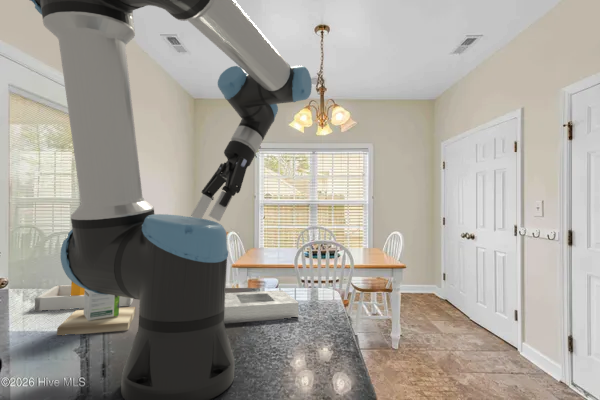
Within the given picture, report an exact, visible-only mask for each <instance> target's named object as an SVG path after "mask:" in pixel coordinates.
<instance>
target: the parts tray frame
mask: <svg viewBox="0 0 600 400" xmlns="http://www.w3.org/2000/svg"><path fill="white" fill-rule="evenodd" d="M70 295H71V284H67V285H66V284H64V285H62V284H61V285H54V286H53V287H52V288H50V289H48V290H45V291H44V292H43V293H41V294H40V295H38V296H36V297H35V299H34V310H33V311H34V312H42V310H48V311H61V310H60V309H65V310H71V309H70V308H79V309H78V310H84V295H73V296H70ZM133 301H134V299H132V298H127V297H122V296H120V297H119V307H131V305H132V303H133Z"/></svg>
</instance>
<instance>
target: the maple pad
mask: <svg viewBox="0 0 600 400" xmlns="http://www.w3.org/2000/svg"><path fill="white" fill-rule="evenodd" d="M135 315H136V306H121V307H119V315H118V316H117V317H109V318H103V319H96V320H92V321H88V320H87V319H86V317H85V316H84V309H75V311H73V312H72V314H70V315H69V317H67V318H66V319H65V320H64V321H62V322H61V324H60V325H59V326H57V328H56V329H57V330H56V333H57V334H56V336H57V335H62V336H66V335H65V334H75V335H86V334H96V333H97V334H99V333H111V332H124V331H128V330H129V328H130V326H131V324H132V322H133V320H134V318H135Z"/></svg>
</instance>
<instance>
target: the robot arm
mask: <svg viewBox="0 0 600 400" xmlns="http://www.w3.org/2000/svg"><path fill="white" fill-rule="evenodd" d="M29 1H31V2H32V3H33V5H34V8H35V10H36V11H37V12H38V13H39V14H40V15H41V16H42V23H43V26H44V27H45V28H46V29H47V30H48V31H49V32H50V33H51V34H53V35H54V36H55V37H56V38H57V39H58V46H59V52H60V59H61V67H62V75H63V82H64V89H65V90H64V91H65V95H66V103H67V111H68V117H69V119H68V120H69V125H70V132H71V141H72V147H73V148H72V149H73V155H74V161H75V169H76V176H77V185H78V190H79V196H80V197H79V200H80V205H79V206H78V207H77V208H76V209H75V210H74V211H73V213H72V214H71V215H70V222H71V228H72V229H71V230H70V231H69V232H68V233H67V237H66V239H63V242H62V245H61V248H60V263H61V266H62V267H61V268H62V269H63V271H64V274H65V275H66V276H67V278H68V279H69V280H70V281H71V283H72V282H73V283H75V284H76V285H78V286H80V287H82V288H84V289H87V290H90V291H93V292H94V293H98V294H105V295H107V294H111V295H116V296H122V297H127V298H132V299H133V300H139V308H138V309H139V310H138V328H137V331H136V335H135V337H134V340H133V343H132V344H131V348H130V350H129V353H128V356H127V357H126V361H125V363H124V367H123V369H122V373H121V381H120V382H121V383H120V384H121V385H120V393H121V394H120V395H121V396H122V398H123V399H124V400H212V399H215V398H216V397H218V396H219V395H221V394H222V393H224V392H225V391H226V390H228V389H229V388H230V386H231V385H232V383H233V382H234V379H235V366H236V365H235V364H236V363H235V356H234V353H233V349H232V347H231V346H232V345H231V343H230V342H231V341H230V339H229V335H228V333H227V329H226V325H225V324H224V310H225V293H226V289H227V288H226V284H227V283H226V282H227V267H228V266H227V263H228V257H229V250H228V241H227V240H228V239H227V237H228V236H227V231H226V229H225V228H224V226H223V225H222V224H221V223H219V222H221V220H222V217H223V215H224V214H225V212H226V210H227V208H228V207H229V205H230V202H231V200H232V198H233V197H234V196H235V195H236V194H239V193H240V191H241V189H242V185H243V182H244V179H245V175H246V171H247V169H248V167H250V166H251V164H252V162H253V160H254V159H255V157H256V155H255V154H257V152H258V150H261V148H262V146H261V144H262V143H263V140H265V137H266V135H267V134H268V131H270V128H271V126H272V125H273V124H274V122H275V118H276V116H277V114H278V113H279V107H278V104H288V103H297V102H300V101H305V100H307V99H309V98H310V96H311V93H312V88H313V87H312V77H311V74H310V72H309V70H308V68H307V67H305V66H302V65H301V66H300V65H299V66H298V65H294V66H291V65H290V64H289V63H288V62H287V61H286V60H285V58H284V57H283V56H282V55H281V54H280V52H279V51H278V50H277V48H275V47H274V46H273V44H272V43H271V42H270V40H269V39H268V38H267V37H266V36H265V34H264V33H262V31H261V30H260V29H259V28H258V26H257V25H256V24H255V23H254V22H253V20H251V18H250V16H248V15H247V13H246V12H245V11H244V10H243V9H242V8H241V6H240V5H239V4H238V2H237V1H236V0H29ZM147 6H150V7H151V6H152V7H157V8H159V9H163V10H165V11H166V12H167V13H168V14H170V15H171V16H172V17H173V18H175V19H176V20H178V21H184V22H185V21H188V22H189V23H190V24H191V25H192V26H193V27H194V28H196V29H197V30H198V31H199V32H200V33H201V34H202V35H204V37H206V38H207V39H208V40H209V41H210V42H211V43H212V44H214V45H215V46H216V47H217V48H218V49H220V50H221V52H223V54H225V55H226V56H227V57H228V58H229V59H230V60H232V61H233V62H234V63H235V64H236V65H234V66H230V67H227V68H226V69H225V70H223V72H222V73H220V74H219V77H218V80H217V87H218V89H219V91H220V92H221V93H222V95H223V97H224V99H225V100H227V102H228V104H230V105H231V107H232V108H233V109H234V111H235V112H236V113H237V115H238V116H239V117H240V119H241V121H240V122H239V124H238V126H237V127H236V129H235V131H234V133H233V134H232V136H231V138H230V141H229V142H228V144H227V146H226V147H225V149H224V151H223V154H224V157H225V158H226V159H227V161H226V162H224V163H220V164H219V167H217V170H216V171H215V172H214V173H213V175H212V177H211V178H210V179H209V180H208V182H207V183H206V185H205V186H204V187H203V189H202V190H201V193H202V195H201V197H200V199H199V200H198V202H197V204H196V206H195V208H194V209H193V211H192V213H191V214H190V216H184V215H178V214H168V213H167V214H166V213H165V214H164V213H163V214H161V213H157V214H156V213H155V207H154V206H153V205H152V204H151V203H150V202H148V201H147V200H146V199H145V198H144V197H143V189H142V188H143V187H142V181H141V172H140V164H139V155H138V145H137V137H136V127H135V122H134V121H135V118H134V111H133V103H132V102H133V101H132V93H131V92H132V91H131V85H130V84H131V83H130V74H129V73H130V72H129V65H128V56H127V55H128V54H127V48H126V47H127V45H128V44H129V43H130V42H131V41H132V40H133V39H134V38H135V36H136V31H135V24H134V22H135V21H134V13H133V11H135V10H138V9H141V8H144V7H147ZM224 184H225V185H224ZM222 186H223V187H222ZM220 189H221V192H220V193H219V196H218V197H217V199H216V201H215V203H214V204H213V207H212V208H211V210H210V211H209V214H208V217H210V218H212V219H214V220H216V221H214V220H210V219H206V218H203V217H204V215H205V213H206V212H207V210H208V208H209V206H210V204H211V202H213V201H214V200H215V198H214V196H215V194H216V193H217V192H218V191H219V190H220Z"/></svg>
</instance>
